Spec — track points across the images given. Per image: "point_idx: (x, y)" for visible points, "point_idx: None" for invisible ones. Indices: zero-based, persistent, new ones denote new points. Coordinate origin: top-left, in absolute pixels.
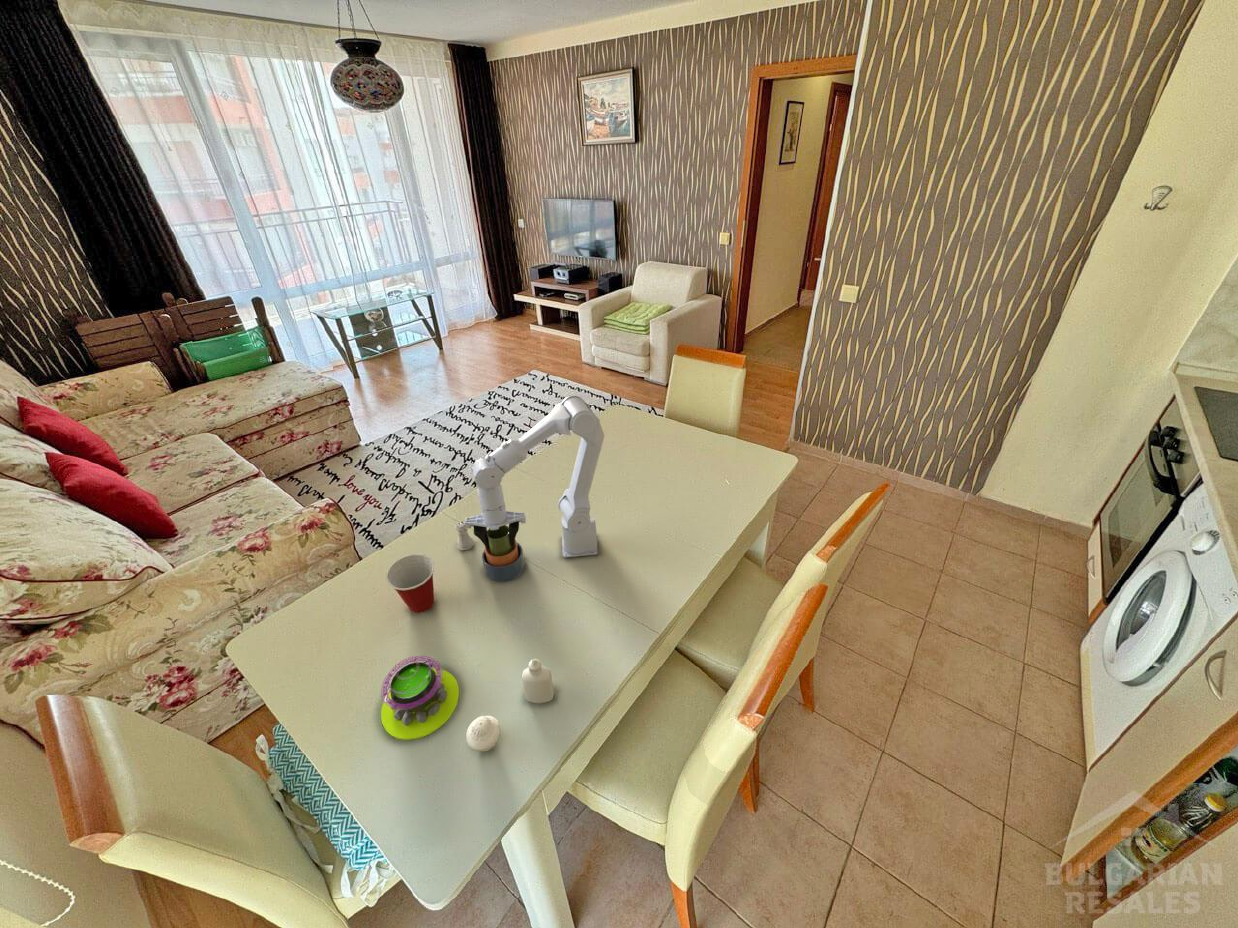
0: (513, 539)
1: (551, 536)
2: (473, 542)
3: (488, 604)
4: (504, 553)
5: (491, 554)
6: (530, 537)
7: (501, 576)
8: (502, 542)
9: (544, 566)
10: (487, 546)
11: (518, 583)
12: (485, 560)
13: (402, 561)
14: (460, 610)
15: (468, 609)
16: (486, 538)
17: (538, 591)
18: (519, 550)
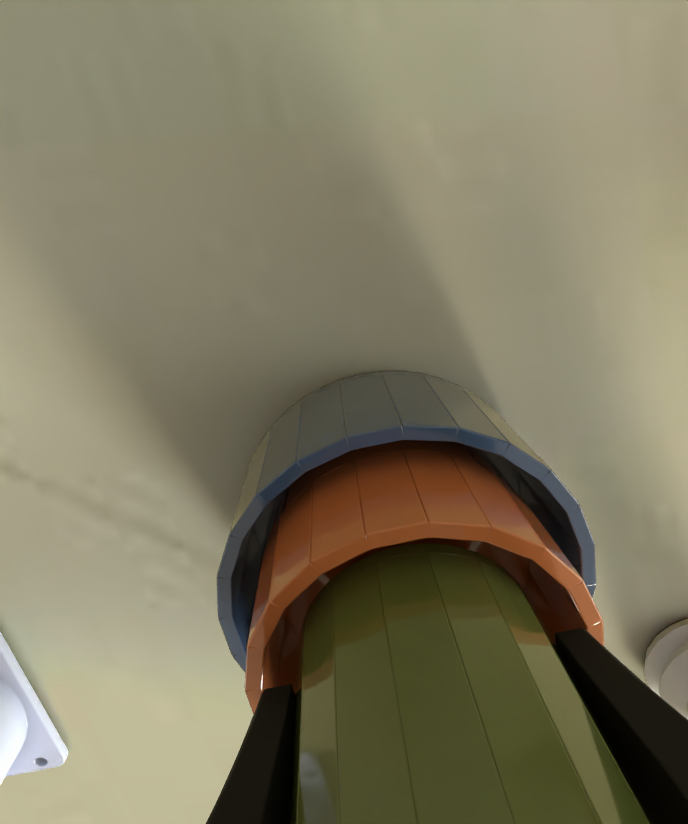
0: (225, 818)
1: (152, 760)
2: (647, 679)
3: (423, 112)
4: (358, 587)
5: None
6: None
7: (374, 388)
8: (373, 763)
9: (99, 533)
10: (590, 663)
11: (238, 362)
12: None
13: None
14: (656, 21)
15: (587, 38)
16: (659, 806)
17: (44, 290)
18: None
